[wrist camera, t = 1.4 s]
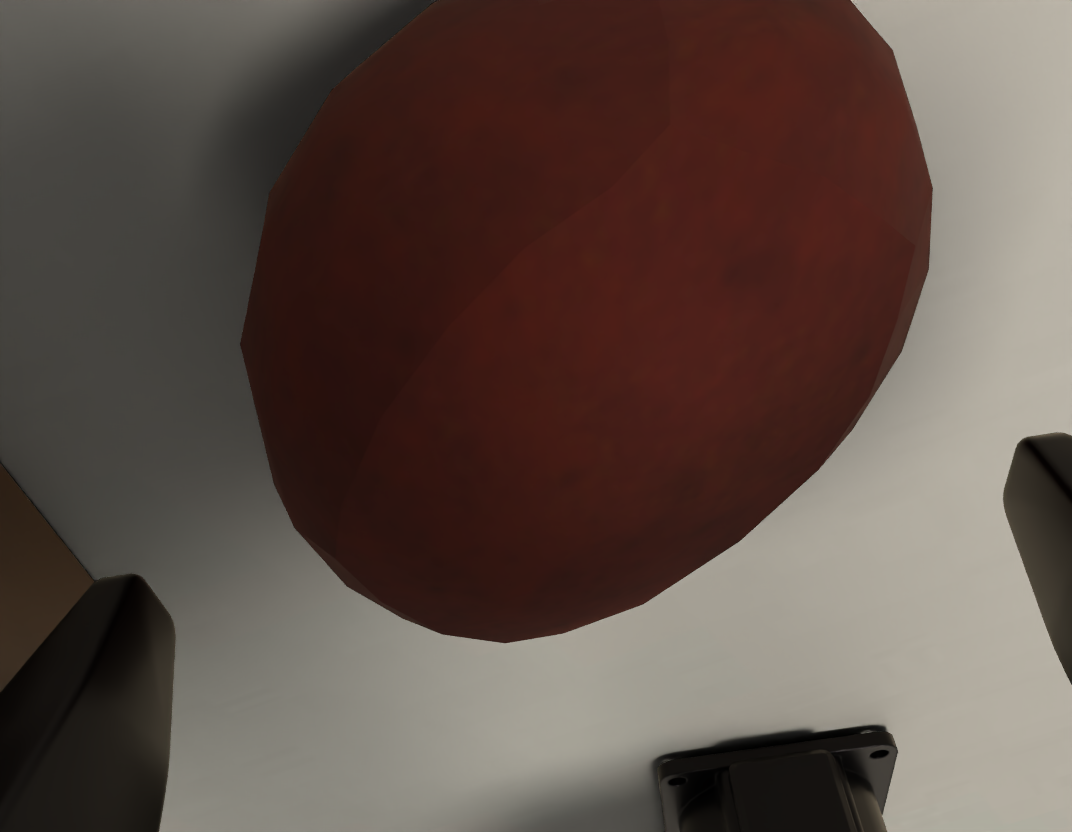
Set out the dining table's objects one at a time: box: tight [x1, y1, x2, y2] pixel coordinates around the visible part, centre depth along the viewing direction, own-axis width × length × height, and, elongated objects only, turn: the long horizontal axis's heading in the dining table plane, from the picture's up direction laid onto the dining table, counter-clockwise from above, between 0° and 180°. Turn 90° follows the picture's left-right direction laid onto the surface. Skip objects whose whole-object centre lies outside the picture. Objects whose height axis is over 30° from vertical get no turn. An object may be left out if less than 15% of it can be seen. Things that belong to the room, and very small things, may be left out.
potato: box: [240, 0, 933, 643], centre depth 12 cm, size 7×10×6 cm
